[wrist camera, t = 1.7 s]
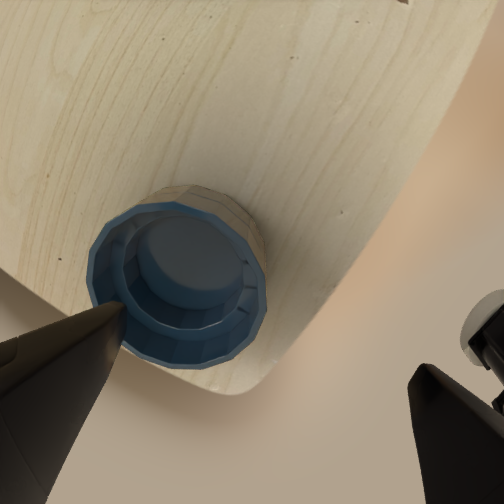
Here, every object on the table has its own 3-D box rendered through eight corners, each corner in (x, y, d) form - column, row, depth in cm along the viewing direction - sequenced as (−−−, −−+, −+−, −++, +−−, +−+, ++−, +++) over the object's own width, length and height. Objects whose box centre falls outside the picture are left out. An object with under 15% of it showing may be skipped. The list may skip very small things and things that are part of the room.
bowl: (297, 253, 20) (307, 291, 15) (204, 344, 22) (192, 393, 18) (178, 152, 18) (149, 159, 13) (99, 262, 20) (62, 297, 16)
